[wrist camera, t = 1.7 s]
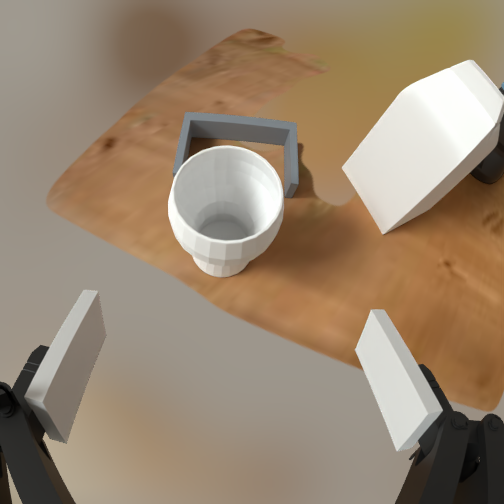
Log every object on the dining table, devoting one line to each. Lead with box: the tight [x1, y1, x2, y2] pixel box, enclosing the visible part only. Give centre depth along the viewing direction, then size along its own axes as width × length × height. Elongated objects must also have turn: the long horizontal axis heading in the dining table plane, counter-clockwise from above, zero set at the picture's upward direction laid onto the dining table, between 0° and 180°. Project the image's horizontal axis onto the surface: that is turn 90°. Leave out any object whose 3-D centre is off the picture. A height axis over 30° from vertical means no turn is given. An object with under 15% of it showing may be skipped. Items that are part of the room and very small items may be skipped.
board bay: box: [173, 112, 299, 198], centre depth 43 cm, size 16×10×4 cm, turn 87°
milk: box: [342, 60, 504, 235], centre depth 35 cm, size 12×12×26 cm
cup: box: [168, 146, 284, 277], centre depth 34 cm, size 11×11×15 cm
